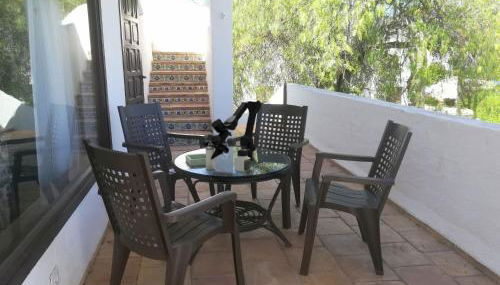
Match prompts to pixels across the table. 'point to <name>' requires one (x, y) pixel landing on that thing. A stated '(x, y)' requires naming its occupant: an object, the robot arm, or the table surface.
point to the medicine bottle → (242, 161)
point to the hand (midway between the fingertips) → (208, 158)
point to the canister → (209, 158)
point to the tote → (196, 160)
